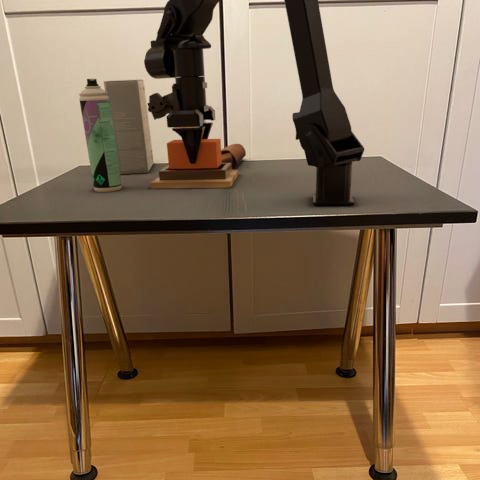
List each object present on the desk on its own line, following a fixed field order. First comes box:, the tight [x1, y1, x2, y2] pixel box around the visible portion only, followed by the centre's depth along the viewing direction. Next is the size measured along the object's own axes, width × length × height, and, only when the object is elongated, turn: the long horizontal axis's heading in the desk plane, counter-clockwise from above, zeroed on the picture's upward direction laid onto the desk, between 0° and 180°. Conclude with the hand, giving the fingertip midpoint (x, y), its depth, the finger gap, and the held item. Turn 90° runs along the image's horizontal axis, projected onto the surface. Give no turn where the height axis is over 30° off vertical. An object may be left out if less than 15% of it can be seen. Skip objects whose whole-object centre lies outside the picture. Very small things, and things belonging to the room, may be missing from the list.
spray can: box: [78, 78, 123, 193], centre depth 93 cm, size 6×6×20 cm
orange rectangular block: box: [166, 138, 222, 169], centre depth 99 cm, size 6×10×5 cm, turn 83°
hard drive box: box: [103, 78, 154, 175], centre depth 115 cm, size 16×8×20 cm, turn 5°
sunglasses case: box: [221, 143, 247, 170], centre depth 120 cm, size 18×7×7 cm
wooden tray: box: [150, 163, 240, 190], centre depth 101 cm, size 14×16×3 cm
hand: (196, 161), depth 100 cm, fingers closed on orange rectangular block, 6 cm apart
